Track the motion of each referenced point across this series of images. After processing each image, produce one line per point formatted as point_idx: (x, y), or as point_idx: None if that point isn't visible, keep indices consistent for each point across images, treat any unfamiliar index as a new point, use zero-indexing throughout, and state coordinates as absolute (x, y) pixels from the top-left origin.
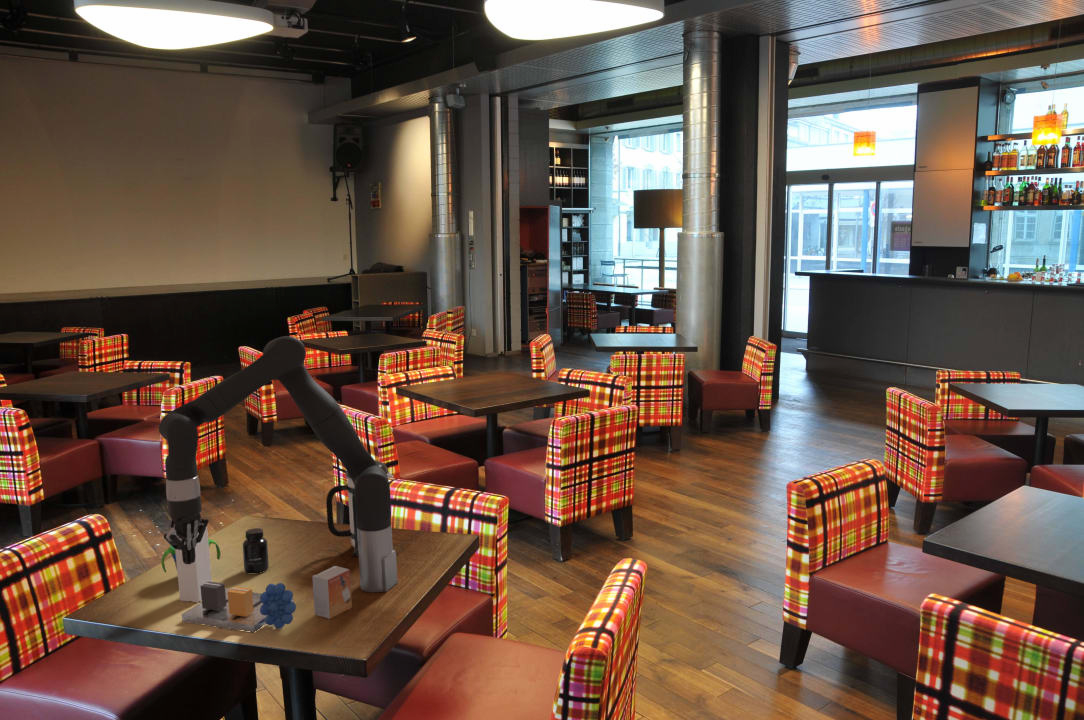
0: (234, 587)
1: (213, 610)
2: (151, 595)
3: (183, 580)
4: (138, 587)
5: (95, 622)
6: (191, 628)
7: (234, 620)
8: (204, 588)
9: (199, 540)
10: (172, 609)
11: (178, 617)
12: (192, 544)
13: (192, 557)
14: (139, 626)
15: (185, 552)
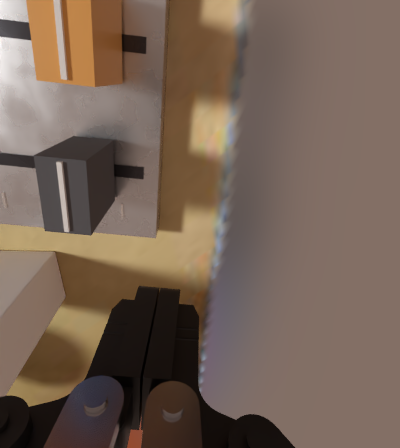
0: (45, 80)
1: None
2: (69, 358)
3: (36, 325)
4: (51, 395)
5: (202, 376)
6: (186, 181)
7: (150, 37)
8: (92, 215)
9: (1, 422)
10: (109, 286)
11: (140, 250)
12: (117, 423)
13: (154, 314)
14: (201, 300)
15: (195, 385)
